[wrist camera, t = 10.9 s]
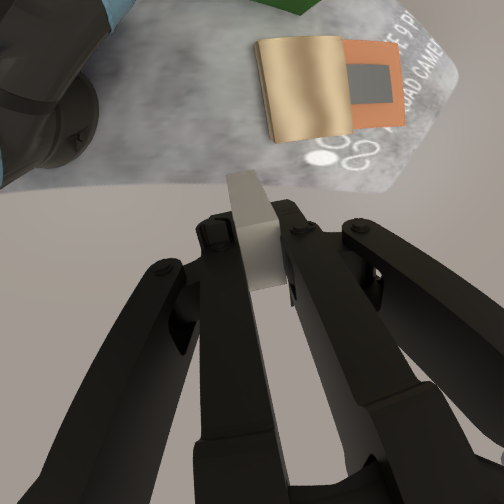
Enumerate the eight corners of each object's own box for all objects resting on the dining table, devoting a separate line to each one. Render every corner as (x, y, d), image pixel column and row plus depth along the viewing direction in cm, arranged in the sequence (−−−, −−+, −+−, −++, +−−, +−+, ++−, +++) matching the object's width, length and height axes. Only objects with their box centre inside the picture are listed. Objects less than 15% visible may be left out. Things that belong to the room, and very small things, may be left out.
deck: (270, 139, 40) (275, 143, 36) (253, 44, 33) (258, 40, 29) (342, 129, 40) (353, 133, 37) (330, 40, 33) (341, 36, 30)
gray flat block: (341, 104, 38) (346, 104, 36) (336, 65, 35) (340, 64, 33) (387, 101, 38) (393, 102, 37) (383, 65, 35) (388, 65, 33)
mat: (345, 129, 40) (346, 129, 40) (333, 40, 33) (334, 39, 33) (404, 125, 40) (405, 125, 40) (396, 43, 33) (397, 43, 33)
